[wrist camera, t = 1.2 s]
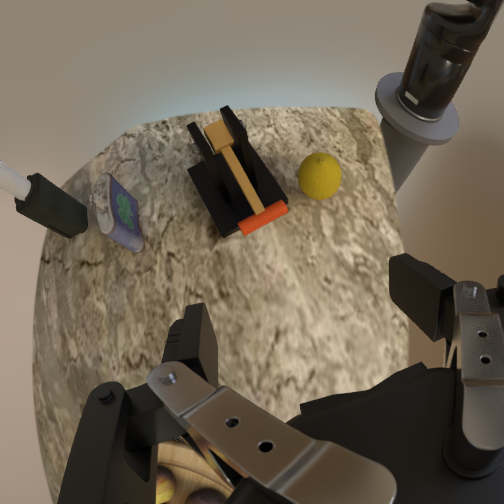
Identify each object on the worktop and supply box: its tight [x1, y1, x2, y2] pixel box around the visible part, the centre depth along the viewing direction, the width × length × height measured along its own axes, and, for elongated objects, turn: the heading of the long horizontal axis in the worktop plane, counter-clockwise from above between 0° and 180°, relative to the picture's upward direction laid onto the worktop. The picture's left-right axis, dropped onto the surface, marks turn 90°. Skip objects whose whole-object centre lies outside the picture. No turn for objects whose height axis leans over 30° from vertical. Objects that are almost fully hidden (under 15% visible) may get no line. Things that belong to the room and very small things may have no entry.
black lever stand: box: [187, 105, 288, 238], centre depth 35 cm, size 12×10×14 cm
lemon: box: [298, 152, 341, 200], centre depth 37 cm, size 6×6×8 cm
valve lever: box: [203, 119, 288, 236], centre depth 31 cm, size 12×5×2 cm, turn 29°
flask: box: [89, 172, 145, 253], centre depth 37 cm, size 9×3×11 cm, turn 17°
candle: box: [0, 160, 88, 239], centre depth 32 cm, size 5×5×25 cm
